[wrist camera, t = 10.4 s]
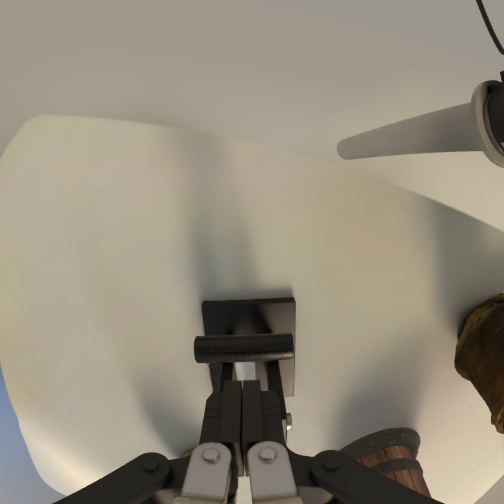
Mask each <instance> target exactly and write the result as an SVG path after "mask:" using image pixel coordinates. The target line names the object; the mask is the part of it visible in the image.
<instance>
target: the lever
mask: <svg viewBox="0 0 504 504" xmlns="http://www.w3.org/2000/svg"><path fill="white" fill-rule="evenodd" d="M194 356H195V360H196V362H197V363H235V370H236V376H237V380H242V385H243V380H257V375H256V362H262V361H279V360H292V359H293V358H294V340H293V335H292V333H290V332H289V333H273V334H254V335H226V336H196V337H195V341H194Z"/></svg>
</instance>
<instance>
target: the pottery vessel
mask: <svg viewBox="0 0 504 504" xmlns="http://www.w3.org/2000/svg"><path fill="white" fill-rule="evenodd" d="M454 362H455V368H456V371H457V372H458V373H459V374H460V375H461V376H462V377H463V378H464V379H467V380H470V381H471V383H472V384H473V386H474V387H475V389H476V390H477V391H478V392H479V394H480V396H481V397H482V398H483V400H484V401H485V402H486V404H487V406H488V407H489V409H490V412H491V414H492V415H491V423H492V425H495V427H496V429H497V432H499V433H501V434H504V294H499V295H498V296H497V297H496V298H494V299H493V300H489V301H487V302H485V303H484V304H483V305H481V306H477V307H476V309H475V311H474V313H472V314H471V316H468V317H467V318H465V319H464V326H463V325H462V330H461V333H460V334H459V335H458V343H457V346H456V354H455V361H454Z"/></svg>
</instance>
